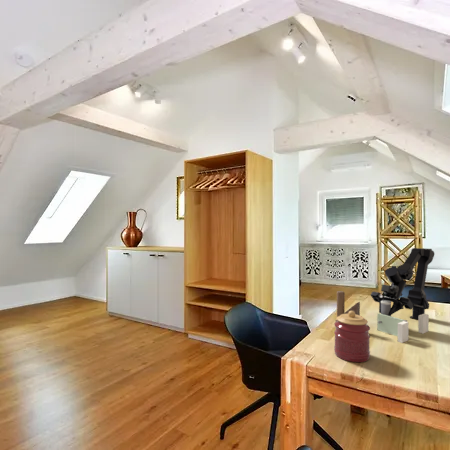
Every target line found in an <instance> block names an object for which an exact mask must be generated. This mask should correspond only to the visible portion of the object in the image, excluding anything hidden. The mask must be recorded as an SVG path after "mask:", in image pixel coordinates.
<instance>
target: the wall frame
mask: <svg viewBox="0 0 450 450" xmlns="http://www.w3.org/2000/svg"><path fill="white" fill-rule="evenodd" d="M429 315H430V314H428V313H425V314H422V315H419V316H418V319H417V320H418V321H417V322H418V323H417V324H418V326H417V327H418V330H417V333H418V334H419V333H420V334H425V333H428V332H429V327H430V325H429V320H430V319H429V317H430V316H429ZM407 341H409V321H407V322H405V321H403V322H400V323H398V336H397V343H398V342H399V343H401V344H402V343H405V342H407Z"/></svg>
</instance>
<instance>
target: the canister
mask: <svg viewBox="0 0 450 450" xmlns="http://www.w3.org/2000/svg"><path fill="white" fill-rule="evenodd" d="M336 320H338V321H336ZM336 320H335V321H336V322H334V324H333V325H334V327H335V326H336V327H335V330H334V332H333V333H334V348H333V350H334V354H335V356H336V357H337V358H338V359H339V358H340V359H341V360H344V361H348V362H350V363H351V362H353V363H364V362H365V363H366V362H368V361H369V360H370V356H371V351H370V338H371V335H370V334H369V331H370V329H371V327H370V325H368V322H369V321H368V320H367V319H366V318H365V317H363V316H361V315H356V314H355V312H354V311H349V313H348V314H341V315H340V316H338V317H337V316H336Z"/></svg>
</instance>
